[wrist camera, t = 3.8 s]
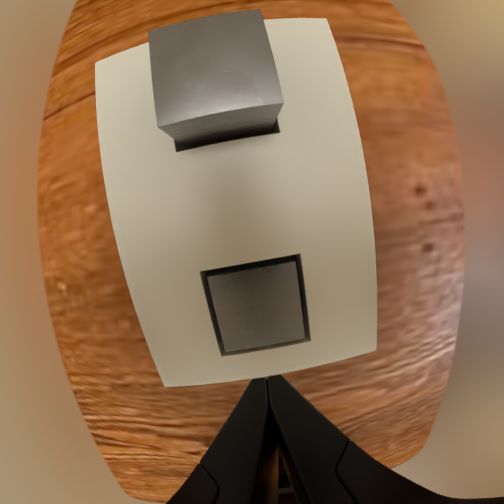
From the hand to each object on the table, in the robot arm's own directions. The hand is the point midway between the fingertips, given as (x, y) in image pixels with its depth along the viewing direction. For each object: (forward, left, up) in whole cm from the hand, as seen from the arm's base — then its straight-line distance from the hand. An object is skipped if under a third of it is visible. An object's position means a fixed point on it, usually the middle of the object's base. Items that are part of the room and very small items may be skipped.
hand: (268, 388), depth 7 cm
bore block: (+5, 0, -11) cm, 12 cm away
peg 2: (0, 0, -11) cm, 11 cm away
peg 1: (+10, 0, -7) cm, 12 cm away
